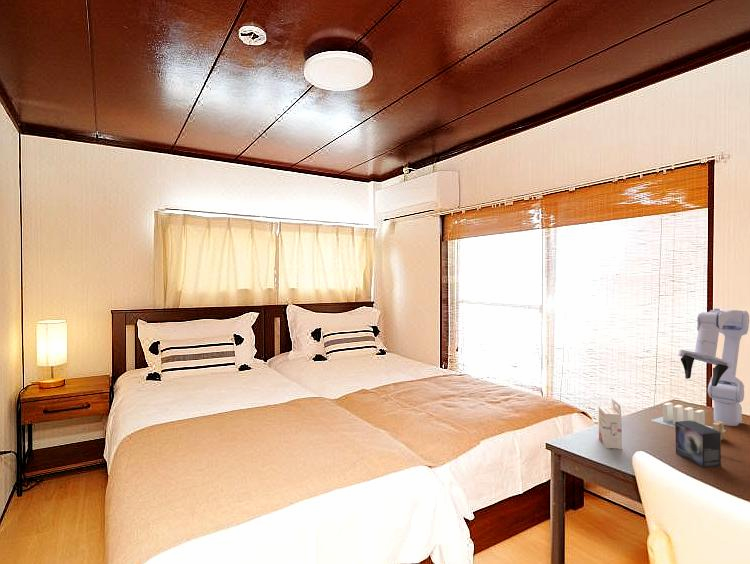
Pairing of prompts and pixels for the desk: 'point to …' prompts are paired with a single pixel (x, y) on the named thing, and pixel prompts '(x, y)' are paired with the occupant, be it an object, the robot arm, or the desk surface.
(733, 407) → the robot arm
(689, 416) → the tile
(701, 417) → the tile
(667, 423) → the domino board
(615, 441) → the ink cartridge box
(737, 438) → the desk surface
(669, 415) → the tile
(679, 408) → the tile
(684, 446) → the small box
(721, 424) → the tile
